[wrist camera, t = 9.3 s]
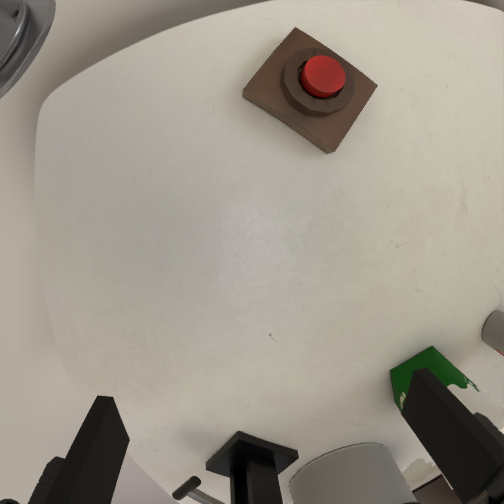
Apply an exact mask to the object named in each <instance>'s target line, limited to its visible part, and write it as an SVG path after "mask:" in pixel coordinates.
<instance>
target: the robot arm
mask: <svg viewBox="0 0 504 504" xmlns="http://www.w3.org/2000/svg"><path fill="white" fill-rule="evenodd" d="M28 19H29V7H28V5H27V4H26V3H25V2H24V1H23V0H0V68H1V67H2V66H3V64H4V63H5V62H6V61H7V59H8V58H9V57H10V55H11V54H12V52H13V51H14V49H15V48H16V46H17V45H18V43H19V41H20V39H21V37H22V35H23V33H24V31H25V28H26V26H27V23H28ZM401 415H402V416H403V417H404V419H405V420H406V422H407V423H408V424H409V426H410V427H411V429H412V430H413V432H414V433H415V434H416V436H417V437H418V439H419V440H420V442H421V443H422V444H423V446H424V447H425V449H426V450H427V452H428V453H429V455H430V456H431V457H432V459H433V460H434V462H435V463H436V465H437V466H438V468H439V469H440V471H441V472H442V473H443V475H444V476H445V478H446V479H447V481H448V482H449V484H450V485H451V487H452V488H453V490H454V491H455V493H456V494H457V496H458V497H459V499H460V500H461V502H462V503H463V504H468V503H470V502H471V501H473V500H474V499H476V498H477V497H478V496H479V495H480V494H481V493H482V492H483V491H484V490H486V491H487V494H486V495H485V496H484V497H483V498H482V499H481V500H480V502H479V503H478V504H482V503H483V502H484V504H504V434H503V433H502V432H501V431H499V429H498V428H497V427H496V426H495V425H493V423H492V422H491V421H490V420H489V419H488V418H487V417H486V416H484V415H482V414H480V413H478V412H476V413H474V414H472V413H471V412H470V411H469V410H468V409H467V408H466V406H465V405H464V404H463V403H462V402H461V401H460V400H459V399H458V398H457V397H456V396H455V395H454V394H453V393H452V392H451V391H450V390H449V389H448V388H447V387H446V386H445V385H444V384H443V383H442V382H441V381H440V380H439V379H438V378H437V377H436V376H435V375H434V374H433V373H432V372H431V371H430V370H429V369H428V368H427V367H423V368H420V369H416V370H413V374H412V378H411V381H410V385H409V389H408V392H407V395H406V399H405V402H404V405H403V408H402V411H401ZM129 441H130V439H129V436H128V434H127V432H126V429H125V427H124V424H123V422H122V419H121V417H120V414H119V412H118V409H117V406H116V404H115V401H114V398H113V397H108V396H98V395H97V397H96V399H95V401H94V403H93V405H92V407H91V408H90V410H89V412H88V414H87V416H86V418H85V420H84V422H83V424H82V426H81V428H80V430H79V432H78V434H77V435H76V438H75V440H74V441H73V444H72V445H71V447H70V450H69V452H68V454H67V456H66V458H65V459H64V458H60V457H57V456H56V457H54V458H53V459H52V460H51V461H50V462H49V463H48V464H47V465H46V467H45V469H44V471H43V475H41V477H40V479H39V483H38V484H37V486H36V487H35V489H34V491H33V494H32V496H31V498H30V500H29V502H28V504H111V500H112V497H113V493H114V490H115V486H116V483H117V479H118V476H119V473H120V469H121V466H122V463H123V460H124V456H125V453H126V450H127V447H128V444H129ZM0 504H19V503H18V502H17V501H15V500H12V499H4V500H1V501H0Z"/></svg>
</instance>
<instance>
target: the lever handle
mask: <svg viewBox="0 0 504 504" xmlns="http://www.w3.org/2000/svg"><path fill="white" fill-rule="evenodd" d="M200 484H201V480H200V479H199V478H198V477H196V476H192V477H191V478H189V479H188V480H187V481H186V482H185V483H184V484H183V485H181V486H180V487H179V488H178V489H177V490H175V491H174V492H173V493H172V496H173V498H174V499H176V500H181V499H183V498H184V497H185V496H189V497H191V498H192V499H194V500H196V501H198V502H200V503H202V504H225V503H223V502H221V501H219V500H217V499H215V498H213V497H211V496H209V495H207V494H205V493H203V492H202V491H200V490H198V489H196V488H197V487H198V486H199V485H200Z"/></svg>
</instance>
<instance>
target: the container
mask: <svg viewBox="0 0 504 504" xmlns="http://www.w3.org/2000/svg"><path fill="white" fill-rule="evenodd" d="M289 490H290V493H291V495H292V498H293V503H294V504H421V503H419V502H417V500H416V499H415V497H414V495H413V493H412V491H411V490H410V488H409V486H408V484H407V482H406V481H405V479H404V477H403V475H402V474H401V472H400V470H399V468H398V467H397V465H396V463H395V461H394V460H393V458H392V455H391V452H390V451H389V449H388V448H387V447H385V446H383V445H381V444H376V443H364V444H356V445H352V446H348V447H344V448H341V449H338V450H335V451H332V452H330V453H328V454H325V455H323V456H321V457H319V458H317V459H315V460H314V461H312V462H310V463H309V464H307V465H306V466H304V467H303V468H302V469H301V470H299V471H298V472H297V473H296V474H295V476H294V477H293V478H292V480H291V482H290V485H289Z"/></svg>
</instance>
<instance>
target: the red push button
mask: <svg viewBox="0 0 504 504" xmlns="http://www.w3.org/2000/svg"><path fill="white" fill-rule="evenodd" d="M300 80H301V83H302V85H303V87H304V88H305V90H306V91H307V92H309V93H310V94H312V95H314V96H316V97H321V98H325V97H330V96H332V95H333V94H335V93H336V92H337V91H338V90H339V89H341V88H342V86H343V85H344V83H345V72H344V70H343V68H342V66H341V65H340V64H339V63H338V62H337V61H336V60H335V59H333V58H331V57H328V56H323V55H320V56H315V57H312V58H311V59H309V60H308V62H307V63H306V65H305V66H304V68H303V69H302V71H301V74H300Z"/></svg>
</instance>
